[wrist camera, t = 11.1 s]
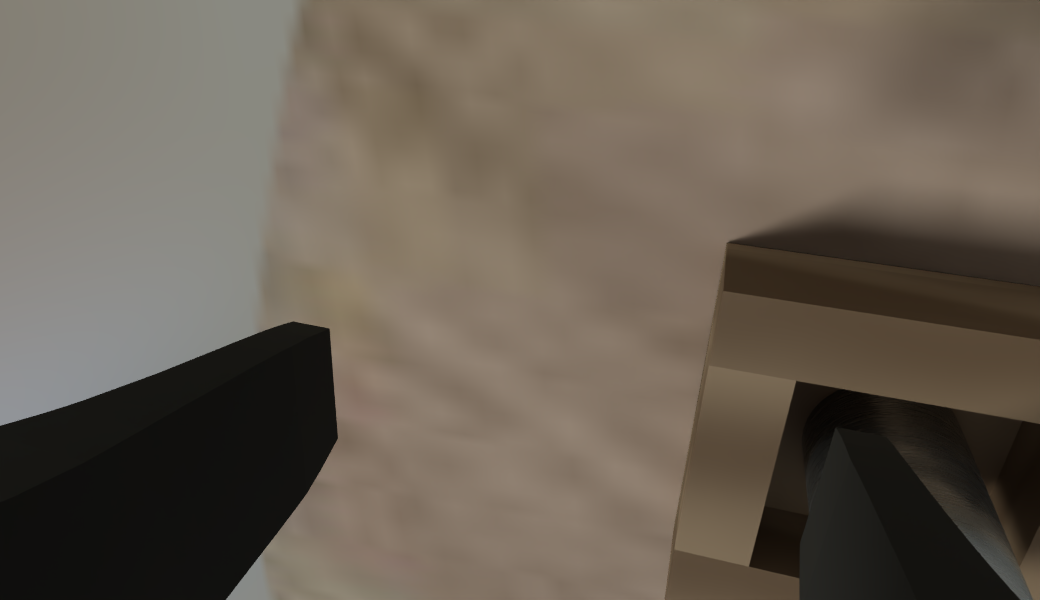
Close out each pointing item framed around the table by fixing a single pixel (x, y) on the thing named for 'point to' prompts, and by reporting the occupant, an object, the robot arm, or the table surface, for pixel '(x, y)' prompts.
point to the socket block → (851, 366)
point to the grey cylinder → (919, 465)
